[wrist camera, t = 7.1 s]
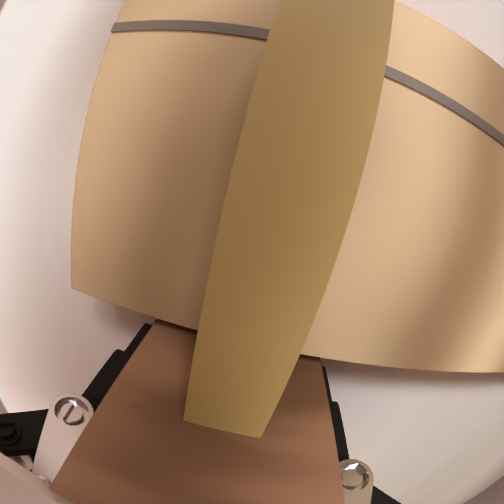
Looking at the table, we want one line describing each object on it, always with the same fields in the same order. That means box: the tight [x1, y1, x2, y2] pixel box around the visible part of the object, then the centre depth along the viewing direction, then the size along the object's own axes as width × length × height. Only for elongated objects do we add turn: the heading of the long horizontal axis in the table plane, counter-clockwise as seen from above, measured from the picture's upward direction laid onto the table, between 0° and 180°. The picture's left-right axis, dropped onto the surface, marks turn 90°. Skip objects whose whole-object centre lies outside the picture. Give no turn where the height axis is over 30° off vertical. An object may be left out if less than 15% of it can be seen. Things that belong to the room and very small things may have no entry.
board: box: [71, 0, 504, 372], centre depth 7 cm, size 23×10×3 cm, turn 76°
